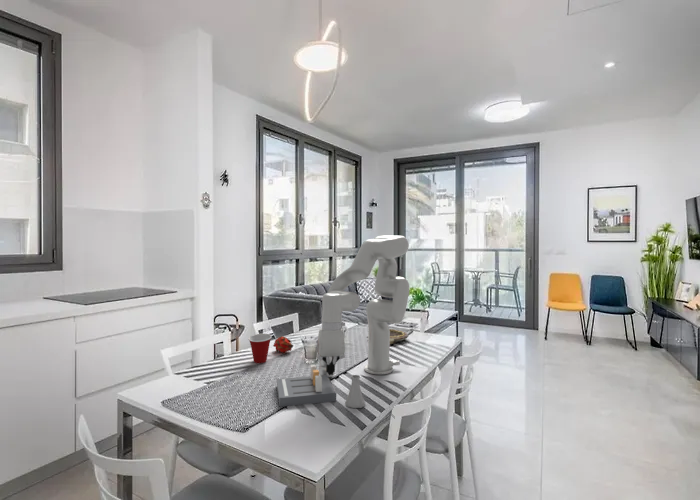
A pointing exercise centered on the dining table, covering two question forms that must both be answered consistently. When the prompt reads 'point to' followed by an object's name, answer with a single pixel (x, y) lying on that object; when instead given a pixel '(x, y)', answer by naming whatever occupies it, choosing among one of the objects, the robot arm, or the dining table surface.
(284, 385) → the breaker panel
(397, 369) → the dining table surface
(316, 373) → the block
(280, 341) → the dragon fruit
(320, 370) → the plastic bottle
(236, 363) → the dining table surface
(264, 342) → the plastic cup
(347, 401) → the flask
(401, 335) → the pie
